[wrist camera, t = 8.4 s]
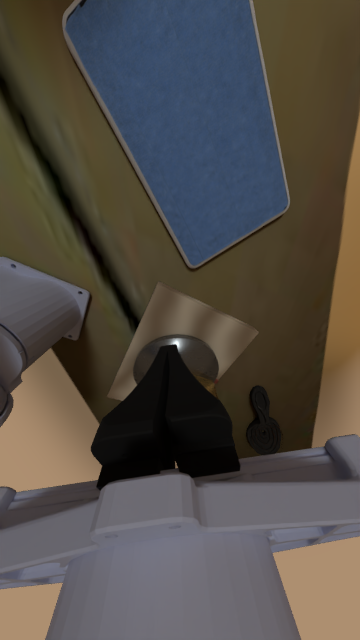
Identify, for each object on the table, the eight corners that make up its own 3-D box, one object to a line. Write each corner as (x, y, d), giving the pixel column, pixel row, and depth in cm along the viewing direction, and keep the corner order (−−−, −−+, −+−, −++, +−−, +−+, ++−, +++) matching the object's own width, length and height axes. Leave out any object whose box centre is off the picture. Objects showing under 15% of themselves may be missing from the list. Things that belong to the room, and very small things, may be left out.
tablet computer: (62, 39, 11) (50, 15, 10) (216, -140, 9) (223, -199, 8) (189, 270, 19) (190, 272, 18) (285, 210, 17) (294, 207, 16)
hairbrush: (285, 390, 27) (288, 456, 37) (273, 375, 31) (279, 439, 41) (240, 402, 28) (256, 464, 38) (233, 386, 31) (249, 446, 42)
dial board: (109, 389, 27) (106, 398, 26) (158, 281, 19) (157, 284, 17) (186, 409, 32) (187, 417, 30) (253, 327, 23) (259, 333, 22)
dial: (123, 385, 25) (113, 416, 20) (152, 320, 20) (147, 343, 15) (193, 402, 28) (197, 432, 23) (233, 351, 23) (248, 377, 18)
